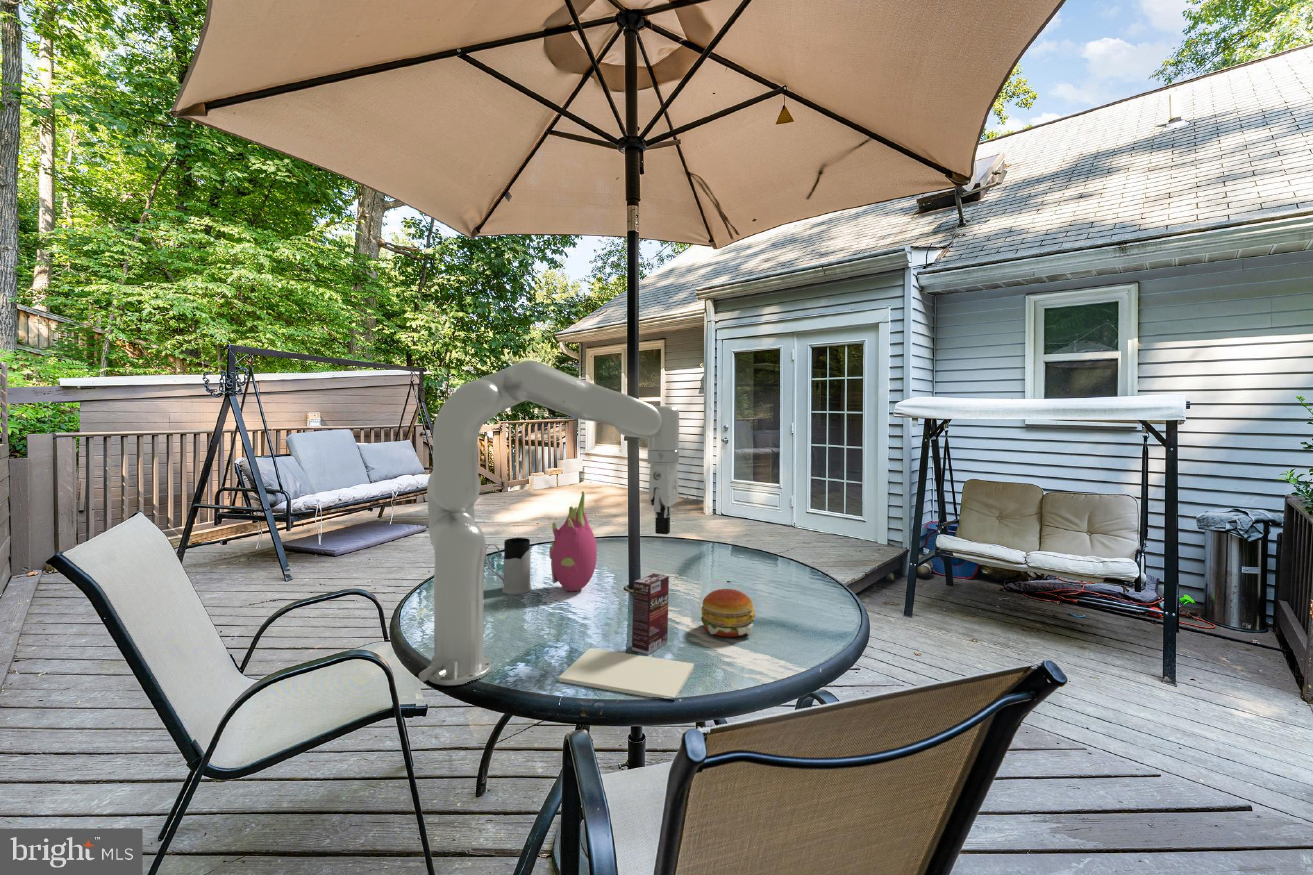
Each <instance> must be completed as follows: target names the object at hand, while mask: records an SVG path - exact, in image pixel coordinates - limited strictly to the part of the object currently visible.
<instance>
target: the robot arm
mask: <svg viewBox="0 0 1313 875" xmlns="http://www.w3.org/2000/svg"><path fill="white" fill-rule="evenodd" d="M525 401H528V402H531V403H533V404H536V405H539V406H542V407H545V408H547V409H550V410H553V411H556V412H558V413H561V414H563V415H567V416H569V417H572V418H574V419H579V420H582V421H589V422H595V423H601V424H606V425H609V426H612V427H614V429H615V430H616V432H618V433H619V434H620V435H622V436H625V437H631V438H641V439H642V438H643V439H647V464H648V465H650V466H649V479H648V480H649V481H648V503H649V505H650V506H653V512H654V516H655V518H654V520H655V521H654V522H655V527H654V528H655V530H654V531H655V534H656V535H658V534H659V535H668V534H670V533H671V532H670V531H671V507H672V506H673V505H674V504H676V503H677V502H679V500H680V499H679V497H680V496H679V494H680V493H679V473H678V465H679V463H680V411H679V409H678V408H677V407H676V406H673V405H672V406H671V405H666V406H665V405H658V406H653V405H652V404H650V403H648V402H645V401H643V400H640V399H638V398H636V397H633V396H632V395H631V396H630V395H629V394H628V395H627V394H625V393H622V392H619V391H616V390H613V389H610V388H606V387H604V386H601V385H598V384H596V383H592V382H589V381H586V380H585V379H581V378H579V377H576V376H573V375H571V374H569V373H566V372H564V371H561V370H559V369H557V368H554V367H552V366H550V365H548V364H544V363H541V362H539V361H536V360H529V359H528V360H523V361H520V362H518V363H514V364H512V365H510V366H508V367H506V368H504V369H500V370H499V371H496V372H493V373H491V374H488V375H485V376H482V377H480V378H478V379H474V380H471V381H469V382H466V383H464V384H462V385H461V386H460V387H459V388H457V390H455V391H454V392H453V393H452V394H450V396H448V398H447V399H446V400H445V401H444V403H443V404H442V405H441V407H440V408H439V411H438V412H437V415H436V418H435V419H434V425H433V431H432V432H433V433H432V466H433V467H432V471H431V473H430V474H429V477H428V480H427V485H426V486H427V487H426V489H427V490H426V492H427V493H426V495H427V496H426V497H427V512H428V513H427V516H428V531H429V538H430V543H431V545H432V547H433V550H434V572H433V574H434V575H433V608H434V609H433V613H434V614H433V616H434V617H433V618H434V620H433V625H434V627H433V636H434V637H433V638H434V640H433V642H434V643H433V645H434V646H433V650H434V651H433V652H434V654H433V655H434V656H431V663H430V664H429V665H428V666H427V667H426V668H425V669H423V670H422V671H421V672H419V673H418V680H420V682H423V683H424V682H426V681H429V682H430V683H431V684H432V683H433V684H435V685H439V686H459V685H460V686H461V685H464V684H465V683H466V684H468V683H467V682H469V681H471V680H474V679H478V680H480V679H482V678H484V677H486V674H487V675H488V674H489V673H490V671H491V669H492V661H491V659H490V658H489V657H487V656H485V655H484V642H485V641H484V640H485V639H484V634H485V633H484V627H485V626H484V617H485V616H484V611H485V610H484V608H485V607H484V606H485V603H484V601H485V600H484V595H485V594H484V578H485V577H484V576H485V574H484V573H485V563H486V560H485V554H486V555H487V549H486V547H487V544H486V538H485V535H484V532H483V530H482V528H481V527H480V526H479V525H478V523H476V522H475V521H476V518H475V504H476V503H477V501H478V498H479V496H480V493H481V492H480V491H481V490H480V488H481V484H480V478H479V475H480V474H479V464H478V462H479V461H478V448H479V447H478V442H479V441H478V440H479V434H480V431H481V429H482V427H483V425H484V424H486V422H487V421H489V420H491V419H493V418H495V417H496V416H497V415H498V414H499V413H500V412H502V411H505V410H507V409H509V408H512V407H514V406H516V405H519V404H521V403H523V402H525ZM479 678H480V679H479ZM466 684H465V685H466Z"/></svg>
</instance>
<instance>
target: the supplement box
mask: <svg viewBox="0 0 1313 875" xmlns="http://www.w3.org/2000/svg"><path fill="white" fill-rule="evenodd" d="M669 581H670V576H668V575H664V574H660V573H654V572H653V573H652V574H650V575H647V576H644V577H642V578H639V579H637V580H634V581H633V588H632V592H633V595H632V627H631V628H632V630H631V631H632V633H631V634H632V635H631V636H632V637H631V651H633V652H636V653H639V654H643V655H645V656H648V655H650V654H651V653H653V652H655V651H656V650H658V649H659V648H662V647H663V646H664V645H666V644H668V638H669V636H668V632H669V631H668V630H669V584H670V582H669Z"/></svg>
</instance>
